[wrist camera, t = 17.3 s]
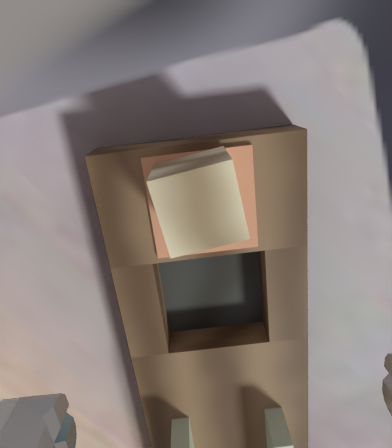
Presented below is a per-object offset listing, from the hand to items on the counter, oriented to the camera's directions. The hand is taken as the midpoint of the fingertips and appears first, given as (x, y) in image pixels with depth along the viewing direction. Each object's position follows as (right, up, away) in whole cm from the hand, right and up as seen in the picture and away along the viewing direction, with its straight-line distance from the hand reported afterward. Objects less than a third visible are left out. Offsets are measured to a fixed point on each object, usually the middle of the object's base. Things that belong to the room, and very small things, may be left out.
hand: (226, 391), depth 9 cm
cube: (-1, +6, +14) cm, 15 cm away
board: (+1, -6, +22) cm, 23 cm away
